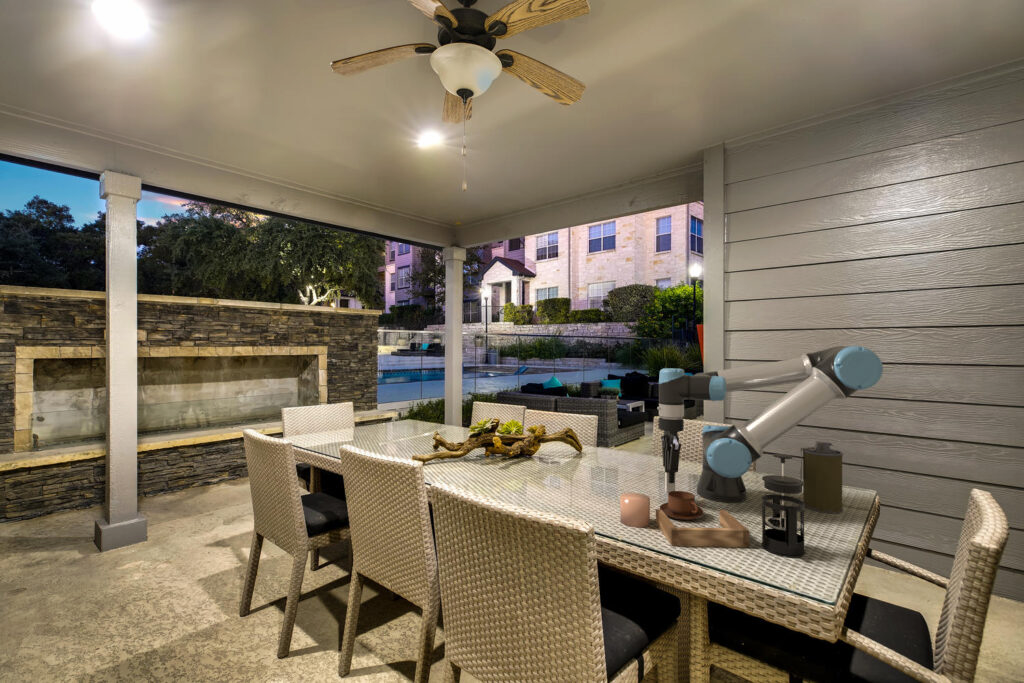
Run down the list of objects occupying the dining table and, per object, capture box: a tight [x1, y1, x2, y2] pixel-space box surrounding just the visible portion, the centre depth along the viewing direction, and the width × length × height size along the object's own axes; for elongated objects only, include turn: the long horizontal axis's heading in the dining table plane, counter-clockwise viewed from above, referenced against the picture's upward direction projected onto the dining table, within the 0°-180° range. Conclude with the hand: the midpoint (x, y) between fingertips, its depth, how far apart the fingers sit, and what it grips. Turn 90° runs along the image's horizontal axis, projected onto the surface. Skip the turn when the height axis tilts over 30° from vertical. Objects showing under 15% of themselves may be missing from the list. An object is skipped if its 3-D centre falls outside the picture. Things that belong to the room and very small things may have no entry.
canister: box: [800, 440, 844, 514], centre depth 146 cm, size 11×10×20 cm
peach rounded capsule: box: [619, 492, 651, 529], centre depth 133 cm, size 8×8×7 cm
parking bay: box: [655, 508, 750, 548], centre depth 125 cm, size 19×14×4 cm
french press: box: [760, 453, 806, 559], centre depth 115 cm, size 12×9×23 cm
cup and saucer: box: [659, 490, 704, 521], centre depth 139 cm, size 12×12×6 cm
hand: (670, 492), depth 149 cm, fingers closed
